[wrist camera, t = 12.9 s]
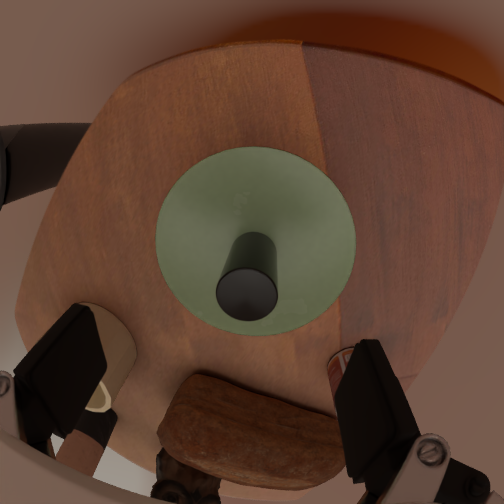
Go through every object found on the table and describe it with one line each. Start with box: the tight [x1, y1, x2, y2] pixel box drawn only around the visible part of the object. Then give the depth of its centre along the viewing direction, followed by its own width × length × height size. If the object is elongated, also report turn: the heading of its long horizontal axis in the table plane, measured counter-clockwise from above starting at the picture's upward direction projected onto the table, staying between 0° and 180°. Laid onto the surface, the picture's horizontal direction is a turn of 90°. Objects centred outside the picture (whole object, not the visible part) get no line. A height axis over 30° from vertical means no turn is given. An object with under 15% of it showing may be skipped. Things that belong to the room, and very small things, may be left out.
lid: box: [155, 146, 356, 336], centre depth 16 cm, size 14×14×7 cm
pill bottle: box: [327, 348, 354, 415], centre depth 29 cm, size 6×6×11 cm
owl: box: [150, 447, 221, 504], centre depth 38 cm, size 13×13×20 cm
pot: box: [36, 302, 137, 412], centre depth 32 cm, size 13×18×10 cm
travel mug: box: [56, 408, 117, 477], centre depth 35 cm, size 8×8×20 cm
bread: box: [157, 374, 346, 491], centre depth 34 cm, size 14×28×12 cm, turn 62°
